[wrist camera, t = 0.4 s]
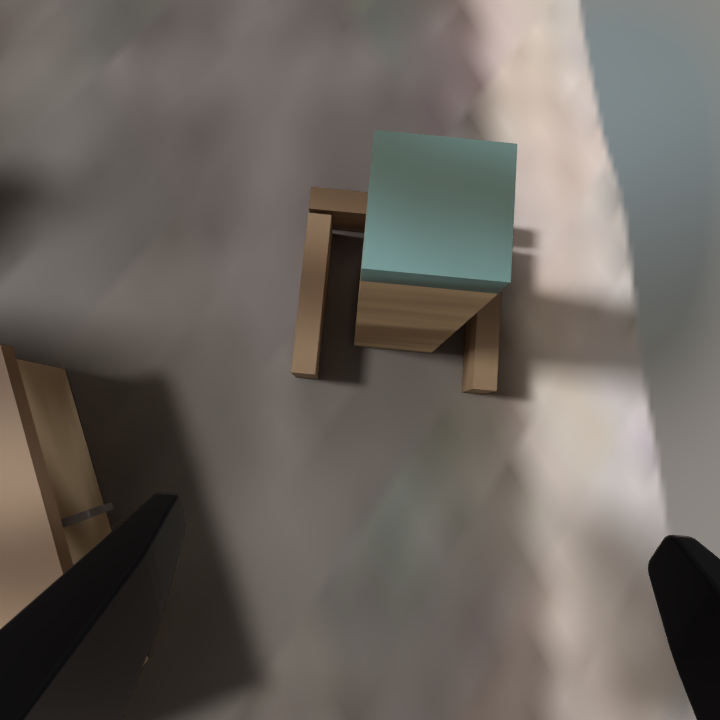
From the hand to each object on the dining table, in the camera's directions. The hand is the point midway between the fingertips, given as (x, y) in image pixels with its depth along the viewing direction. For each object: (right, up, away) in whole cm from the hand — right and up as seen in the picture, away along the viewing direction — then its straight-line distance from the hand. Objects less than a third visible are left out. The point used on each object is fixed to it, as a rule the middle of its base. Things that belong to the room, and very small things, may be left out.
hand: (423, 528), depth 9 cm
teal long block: (0, +5, +14) cm, 15 cm away
